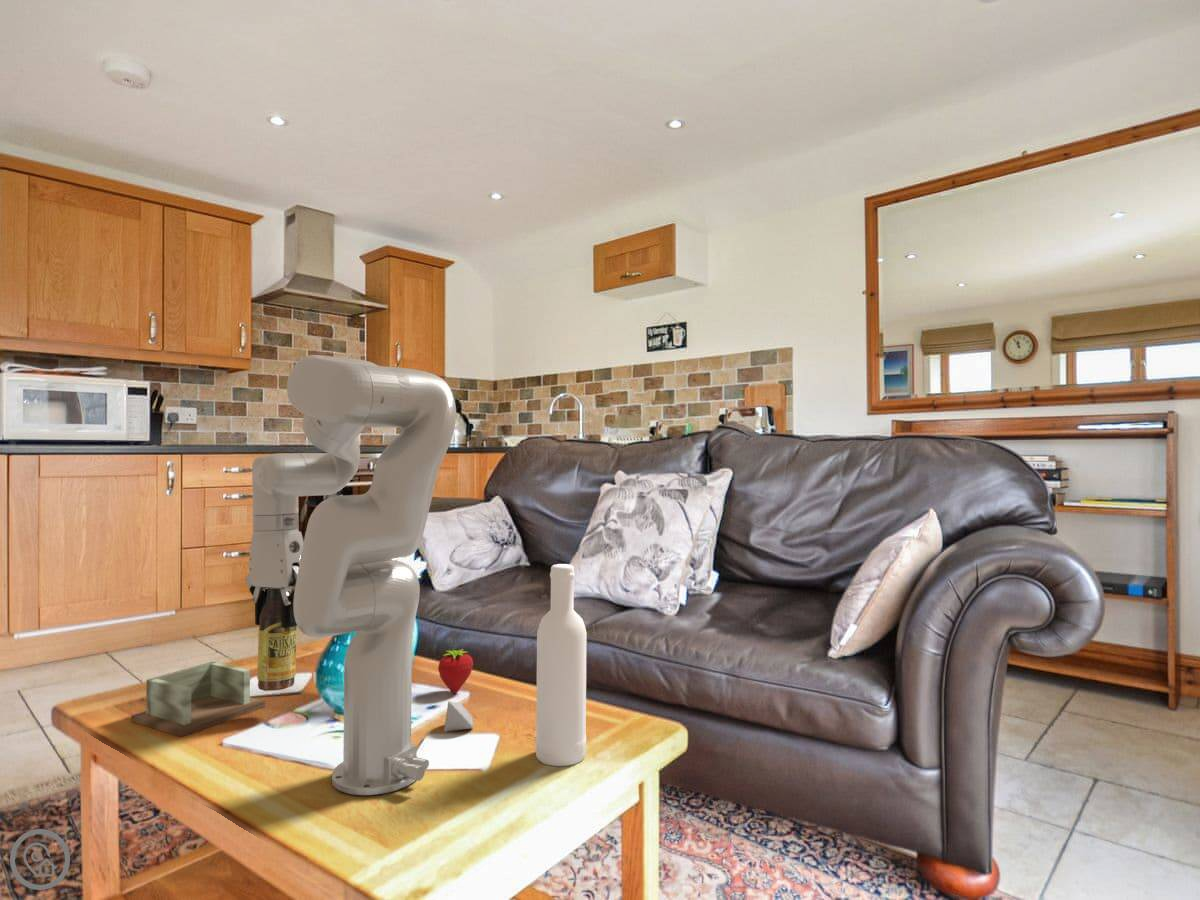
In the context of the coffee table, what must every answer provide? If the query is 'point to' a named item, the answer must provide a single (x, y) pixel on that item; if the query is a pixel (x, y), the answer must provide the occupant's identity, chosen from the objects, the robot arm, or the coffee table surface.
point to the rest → (197, 698)
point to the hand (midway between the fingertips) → (277, 624)
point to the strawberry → (455, 669)
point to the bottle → (561, 676)
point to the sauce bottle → (275, 646)
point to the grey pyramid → (457, 718)
